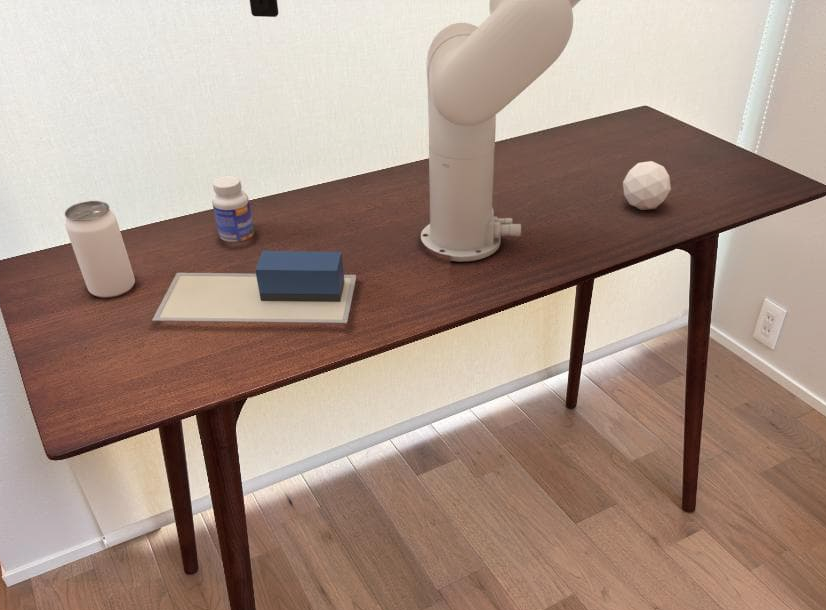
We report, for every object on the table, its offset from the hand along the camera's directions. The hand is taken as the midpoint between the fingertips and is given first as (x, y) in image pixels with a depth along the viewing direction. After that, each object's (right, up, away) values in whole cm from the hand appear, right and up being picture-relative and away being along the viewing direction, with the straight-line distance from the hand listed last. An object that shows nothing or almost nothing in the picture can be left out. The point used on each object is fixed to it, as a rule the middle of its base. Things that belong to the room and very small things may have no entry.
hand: (273, 5), depth 99 cm
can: (-26, -34, +13) cm, 45 cm away
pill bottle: (-11, -25, +24) cm, 36 cm away
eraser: (+2, -35, +11) cm, 36 cm away
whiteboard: (-4, -37, +10) cm, 38 cm away
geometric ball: (+55, -17, +34) cm, 67 cm away
